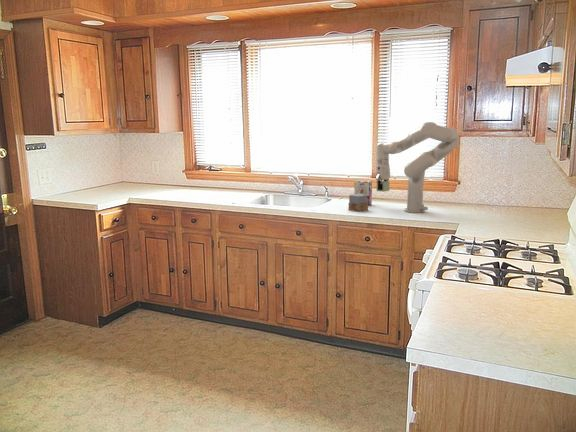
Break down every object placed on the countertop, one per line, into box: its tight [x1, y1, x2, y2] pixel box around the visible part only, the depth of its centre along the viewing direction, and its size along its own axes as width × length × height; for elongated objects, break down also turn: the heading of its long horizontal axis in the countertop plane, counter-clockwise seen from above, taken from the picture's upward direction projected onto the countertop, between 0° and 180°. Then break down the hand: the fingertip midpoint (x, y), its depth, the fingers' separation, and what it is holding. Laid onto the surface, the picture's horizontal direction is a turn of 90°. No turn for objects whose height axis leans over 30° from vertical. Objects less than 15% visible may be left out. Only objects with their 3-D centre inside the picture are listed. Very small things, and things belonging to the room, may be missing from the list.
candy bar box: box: [354, 180, 373, 207], centre depth 347 cm, size 11×5×16 cm, turn 62°
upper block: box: [348, 193, 367, 204], centre depth 328 cm, size 8×8×5 cm
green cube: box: [376, 180, 390, 193], centre depth 332 cm, size 6×6×6 cm
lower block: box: [348, 202, 369, 213], centre depth 328 cm, size 9×9×5 cm
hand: (382, 189), depth 332 cm, fingers closed on green cube, 6 cm apart
